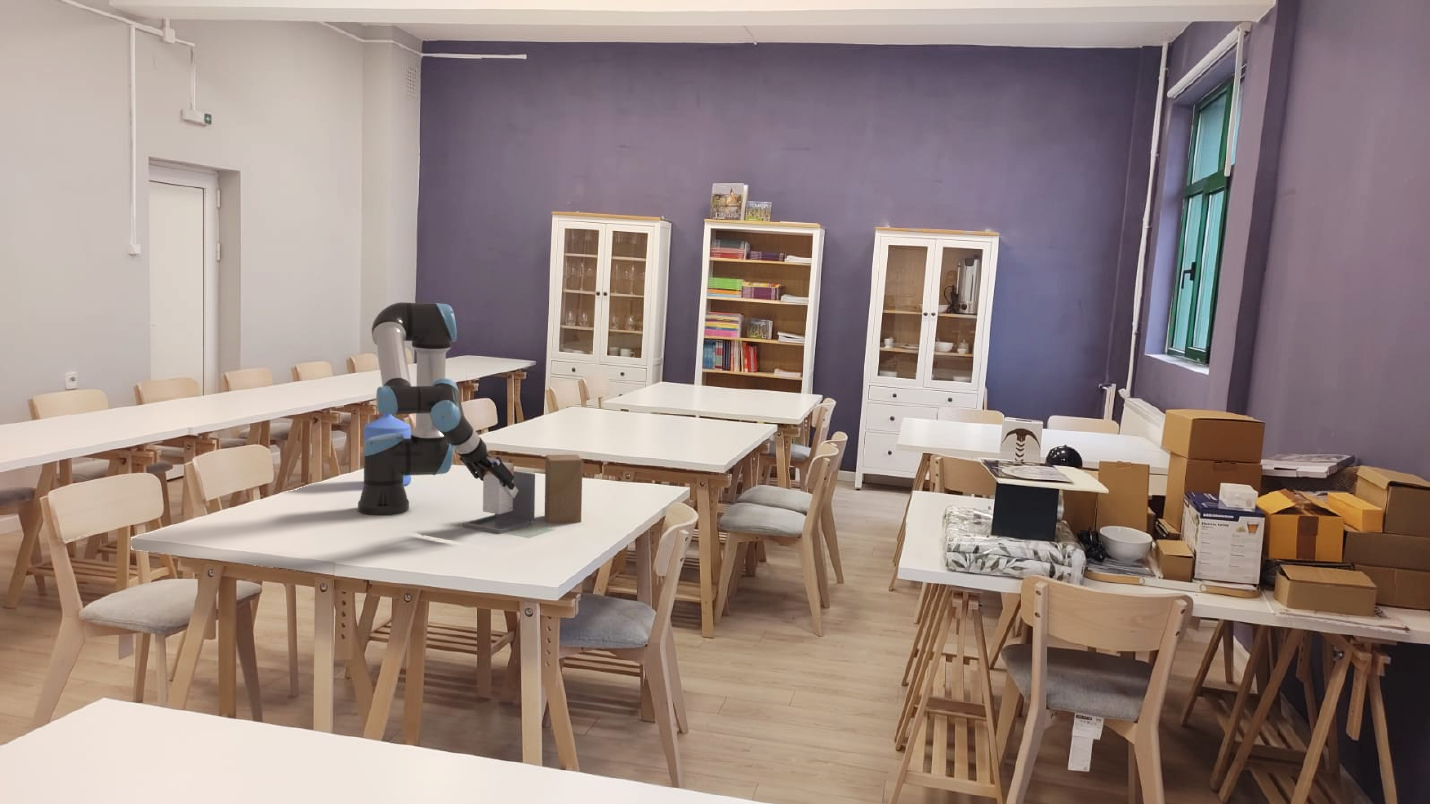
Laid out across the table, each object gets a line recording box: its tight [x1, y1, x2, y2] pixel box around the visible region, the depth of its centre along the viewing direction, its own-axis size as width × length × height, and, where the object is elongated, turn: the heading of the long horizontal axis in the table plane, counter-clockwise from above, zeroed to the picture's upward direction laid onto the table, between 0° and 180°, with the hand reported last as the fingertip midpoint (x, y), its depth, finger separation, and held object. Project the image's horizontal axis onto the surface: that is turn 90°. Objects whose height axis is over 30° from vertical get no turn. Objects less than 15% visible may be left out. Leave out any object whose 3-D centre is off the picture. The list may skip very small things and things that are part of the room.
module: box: [482, 461, 515, 515], centre depth 288 cm, size 6×6×14 cm
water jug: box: [363, 414, 412, 487], centre depth 346 cm, size 16×16×28 cm
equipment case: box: [462, 470, 536, 535], centre depth 289 cm, size 14×15×16 cm
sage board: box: [506, 525, 556, 539], centre depth 284 cm, size 8×12×1 cm, turn 152°
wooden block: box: [544, 454, 583, 524], centre depth 300 cm, size 10×10×20 cm
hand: (506, 492), depth 291 cm, fingers closed on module, 6 cm apart
